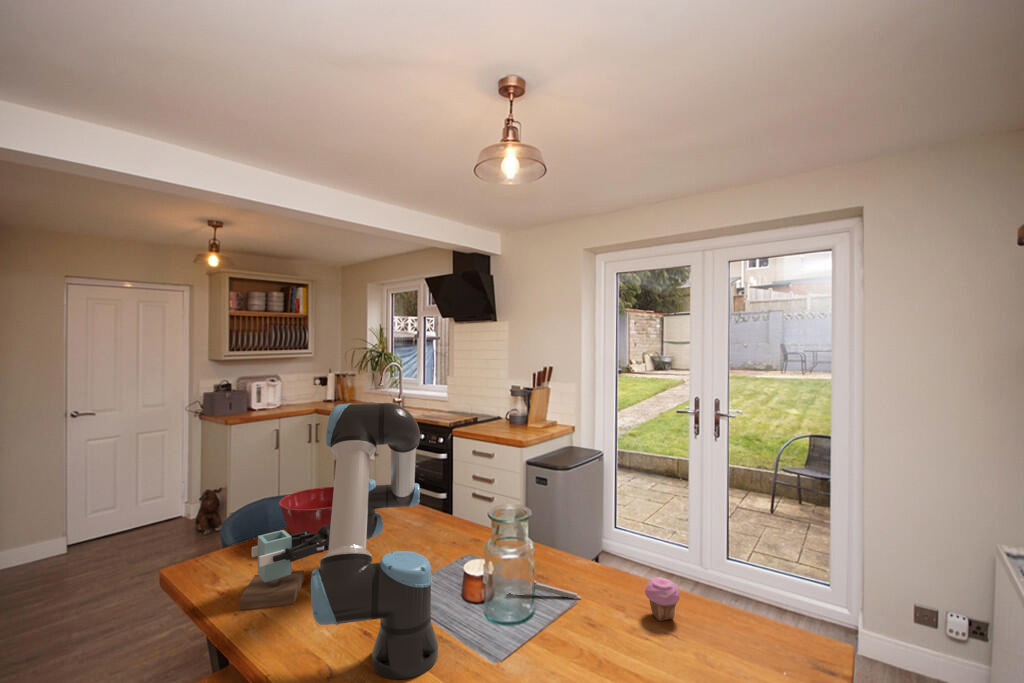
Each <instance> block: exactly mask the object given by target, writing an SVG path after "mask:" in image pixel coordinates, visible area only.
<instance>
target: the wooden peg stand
mask: <svg viewBox="0 0 1024 683" xmlns="http://www.w3.org/2000/svg"><path fill="white" fill-rule="evenodd" d="M304 581H305V570H295V571H292V570H291V575H287V576H284V577H281V578H278V579H274V580H271V581H268V582H264V581H263V580H262V578H261V577H260V576H259V575H258V574H255V575H254V576H253V577H252V579H251V580H250V582H249V583H248V585H247V586H246V588H245V589H244V591H243V593H242V594H241V596H240V597H239V598H238V599H239V600H238V610H240V611H241V610H248V609H249V610H250V609H260V608H269V607H277V606H278V607H279V606H288V605H294V604H295V603H296V602H295V601H296V600H297V597H298V595H299V593H300V590H301V588H302V586H303V584H304Z"/></svg>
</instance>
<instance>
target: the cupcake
mask: <svg viewBox="0 0 1024 683" xmlns="http://www.w3.org/2000/svg"><path fill="white" fill-rule="evenodd" d="M644 593H645V594H644V595H645V596H646V597H647V599H648V601H649V605H650V609H651V612H652V614H653V616H654V618H655V619H657V621H661V622H663V621H668V620H673V619H674V618H675V611H676V606H677V604H678V603H679V600H680V598H681V596H680V592H679V589H678V586H677V585H676V584H675V583H674V582H673V581H672V580H670V579H668V578H664V577H660V576H659V577H658V576H657V577H653V578H652V577H651V578H650V579H649V581H648V582H646V586H645V590H644Z"/></svg>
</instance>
